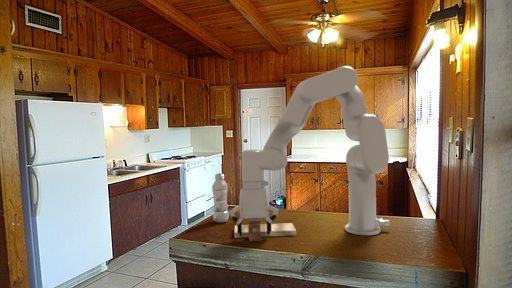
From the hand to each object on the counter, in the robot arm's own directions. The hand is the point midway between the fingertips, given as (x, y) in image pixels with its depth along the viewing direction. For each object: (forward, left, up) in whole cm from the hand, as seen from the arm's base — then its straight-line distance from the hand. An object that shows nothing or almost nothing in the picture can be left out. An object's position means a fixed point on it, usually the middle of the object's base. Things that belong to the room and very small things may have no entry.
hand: (254, 234), depth 114 cm
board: (-4, -7, -2) cm, 8 cm away
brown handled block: (0, -5, -2) cm, 5 cm away
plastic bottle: (+13, -23, -2) cm, 26 cm away
